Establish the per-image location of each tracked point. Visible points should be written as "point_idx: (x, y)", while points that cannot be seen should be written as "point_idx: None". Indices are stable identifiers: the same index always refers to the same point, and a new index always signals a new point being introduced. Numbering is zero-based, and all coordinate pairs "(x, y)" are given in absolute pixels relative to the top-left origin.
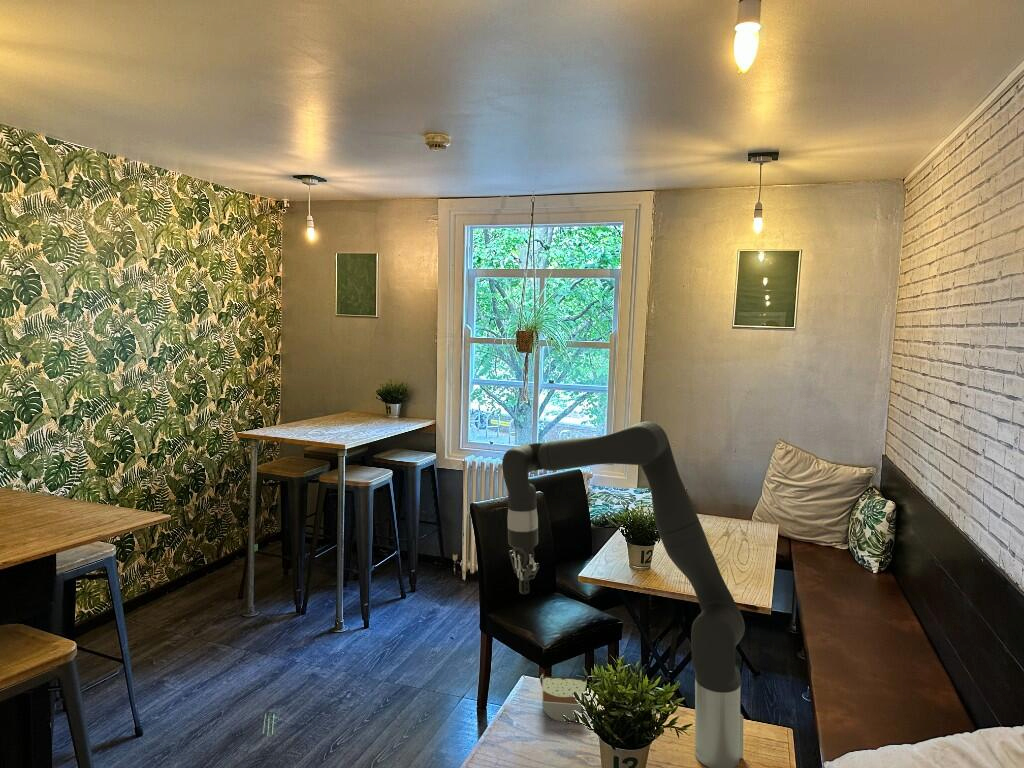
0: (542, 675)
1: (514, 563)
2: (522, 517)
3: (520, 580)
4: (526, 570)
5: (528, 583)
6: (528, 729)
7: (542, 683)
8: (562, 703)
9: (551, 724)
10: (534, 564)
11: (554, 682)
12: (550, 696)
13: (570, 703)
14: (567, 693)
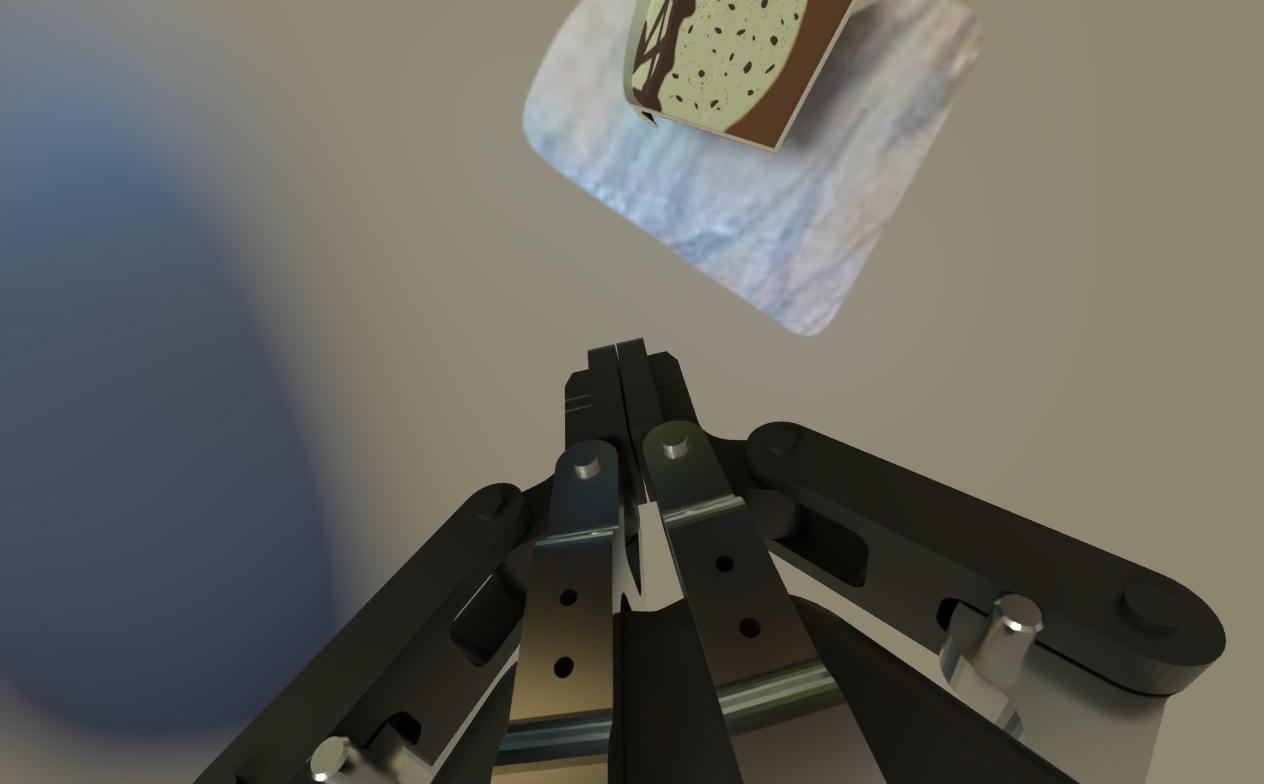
0: (641, 110)
1: (495, 671)
2: None
3: (653, 494)
4: (910, 627)
5: (693, 412)
6: (768, 195)
7: (687, 124)
8: (819, 69)
9: None
10: (1174, 698)
11: (698, 63)
12: (763, 109)
13: (833, 30)
14: (781, 22)
